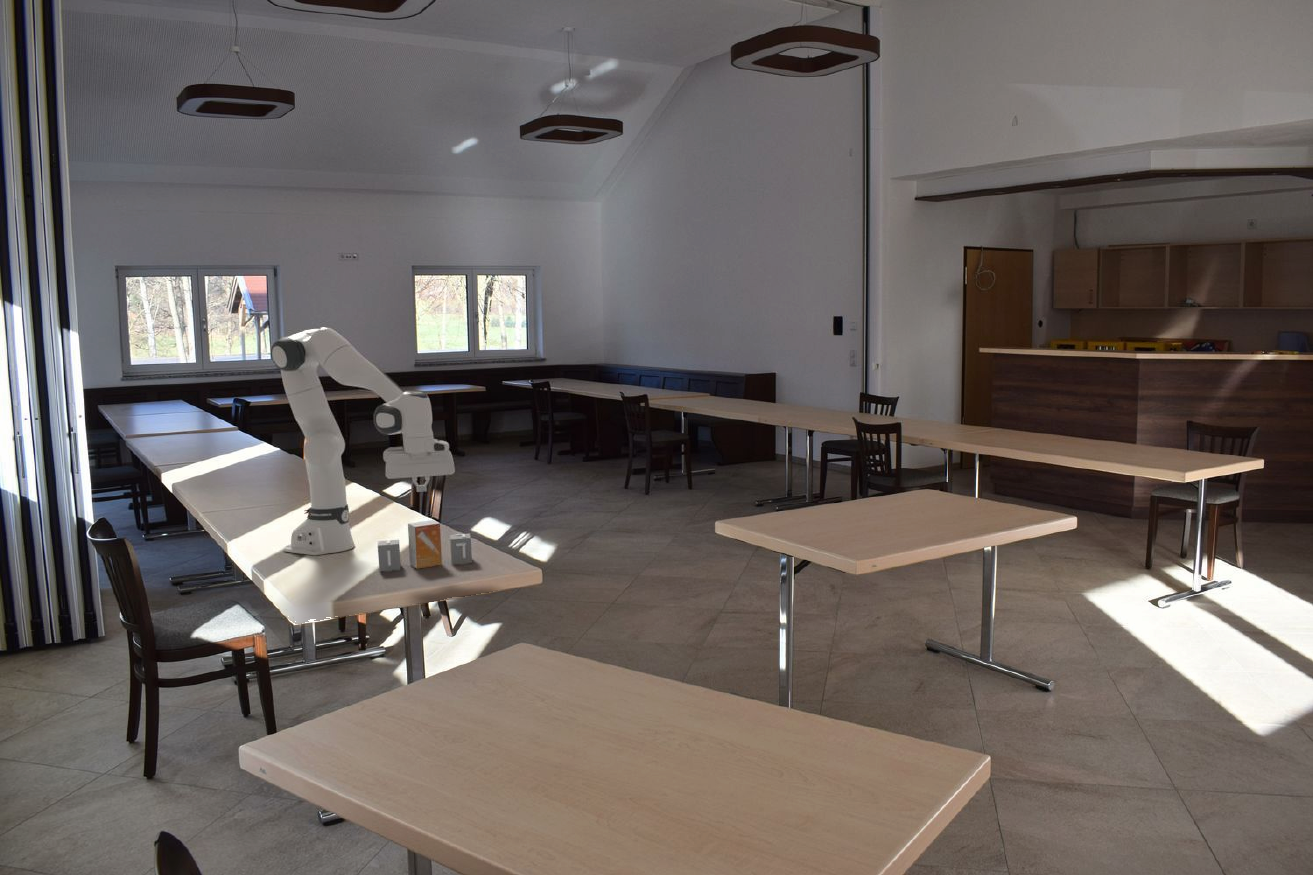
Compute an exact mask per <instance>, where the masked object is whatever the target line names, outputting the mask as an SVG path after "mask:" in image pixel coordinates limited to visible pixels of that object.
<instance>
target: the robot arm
mask: <svg viewBox="0 0 1313 875" xmlns="http://www.w3.org/2000/svg"><path fill="white" fill-rule="evenodd" d="M270 350H271V353H270V355H271V359H272V361H273V363H274V365H275V366H276V367H277V368H278V369H279V370H280V374H281V378H282V384H283V387H284V392H285V394H286V397H287V400H288V403H289V406H290V408H291V411H292V414H293V417H294V419H295V421H296V422H297V424H298V426H299V428H300V429H301V432H302V434H303V435H304V437H305V440H306V441H305V443H304V445H303V454H304V462H305V468H306V473H307V480H308V483H309V485H308V486H309V495H310V507H309V508H308V509H305V510H304V515H306V514H307V516H306V517H307V518H306V519H305V520H304V521H303V522H302V523H300V524H299V525H298V526H297V527H296V528H295V529H294V530H293V531H292V532H291V538H290V544H288V545H286V546H284V549H283V551H284V552H285V553H287V552H288V553H292V554H293V553H294V554H301V555H309V556H310V555H311V556H320V555H325V554H326V555H327V554H330V553H331V554H333V553H334V554H335V553H339V552H340V553H341V552H345V551H348V550H351V549H353V548H355V547H356V545H355V541H354V539H353V535H352V531H351V527H350V521H349V520H350V509H349V504H348V501H347V491H346V490H347V489H346V488H347V487H346V480H345V474H344V469H343V463H342V455H343V453H344V452H345V449H346V442H345V439H344V436H343V435H342V434H343V433H342V432H341V429H340V426H339V425H338V423H337V421H336V419H335V416H334V415H333V412H332V411H331V410H332V409H331V408H330V406H329V402H328V400H327V397H326V394H325V391H324V387H323V385H322V384H321V380H320V378H319V375H318V372H317V369H318V366H319V365H320V366H321V367H322V369H323V370H324V371H325V372H326V373H327V374H328V376H330V377H331V378H332V379H333V380H335V381H336V382H337V383H338V384H340V385H343V386H350V387H357V388H363V389H367V390H370V391H372V392H374V393H375V394H377V395H378V396H379V397H381V399H382V400H383V401H384V402H385V403H383V404H382V403H381V404H379V405H378V406H377V407H376V408H375V410H374V412H373V424H374V426H375V428H376V430H377V431H378V432H379V433H380V434H383V435H388V436H389V435H390V436H391V435H397V434H402V442H403V443H402V445H403V446H395V447H394V446H393V447H387V448H386V449H385V450H384V451H383V452H382V453H383V454H382V458H383V461H384V462H385V477H386V478H387V479H389V480H391V479H393V480H395V479H405V478H406V479H407V478H411V481H412V483H413V484H414V485H415V487H416V492H417V493H419V492H427V490H428V488H427V486H428V484H429V482H430V479H431V478H430V477H435V476H438V477H439V476H450V475H453V474H454V473H455V472H456V469H455V463H454V461H455V460H454V457H453V455H452V452H451V451H450V444H449V442H447V441H446V440H445V441H444V440H443V439H442V440H440V439H436V438H435V437H434V431H433V428H432V424H433V411H432V404H431V401H430V398H429V396H428V394H427V393H426V392H423V391H420V390H419V391H418V390H408V391H407V390H406V391H405V390H404V389H403V388H401V386H399V384H398V383H396V381H394V380H393V379H392V378H391V377H390V376H388V374H386V373H385V372H384V371H382V370H381V369H380V368H378V367H377V366H376V365H374V364H373V363H372V362H370V361H369V360H367V358H366V357H364V356H363V355H362V354H361V353H360V352H359V351H358V350H357V349H356V348H355V347H354V346H353V345H352V344H351V343H350V342H349V340H347V339H346V338H345V337H344V336H343V335H341V334H340V333H338V332H337V330H334V328H331V327H322V326H321V327H315V328H313V329H306V330H302V331H301V330H300V331H298V332H297V333H294V334H291V335H289V336H283V337H281V338H279V339H277V340H276V341H275V342H273V344H272V345H271V349H270ZM420 477H424V481H425V482H424V484H419V483H418V482H417V481H418V478H420Z"/></svg>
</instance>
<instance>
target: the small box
mask: <svg viewBox="0 0 1313 875" xmlns="http://www.w3.org/2000/svg"><path fill="white" fill-rule="evenodd" d="M407 534H408V552H409V564H410V566H411V567H413V568H414V569H417V570H418V569H424V568H430V567H436V565H438V566H441V565H443V558H442V542H441V541H442V537H441V523H440V522H438V521H436V520H433V519H430V520H423V521H422V520H421V521H416V522H409V523H407Z"/></svg>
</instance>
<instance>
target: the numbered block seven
mask: <svg viewBox="0 0 1313 875" xmlns="http://www.w3.org/2000/svg"><path fill="white" fill-rule="evenodd" d="M471 538H472V537H471V533H456V534H449V540H450V541H449V543H450V558H451V565H452V564H460V563H472V564H473V556H472V553H473V552H472V539H471ZM460 565H461V564H460Z"/></svg>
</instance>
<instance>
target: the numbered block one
mask: <svg viewBox="0 0 1313 875" xmlns="http://www.w3.org/2000/svg"><path fill="white" fill-rule="evenodd" d="M400 548H401V547H400V539H389V540H378V543H377V554H378V556H377V557H378V569H379V573H382V572H381V571H385V572H393V571H392V570H396V571H401V565H402V564H401V550H400Z"/></svg>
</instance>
